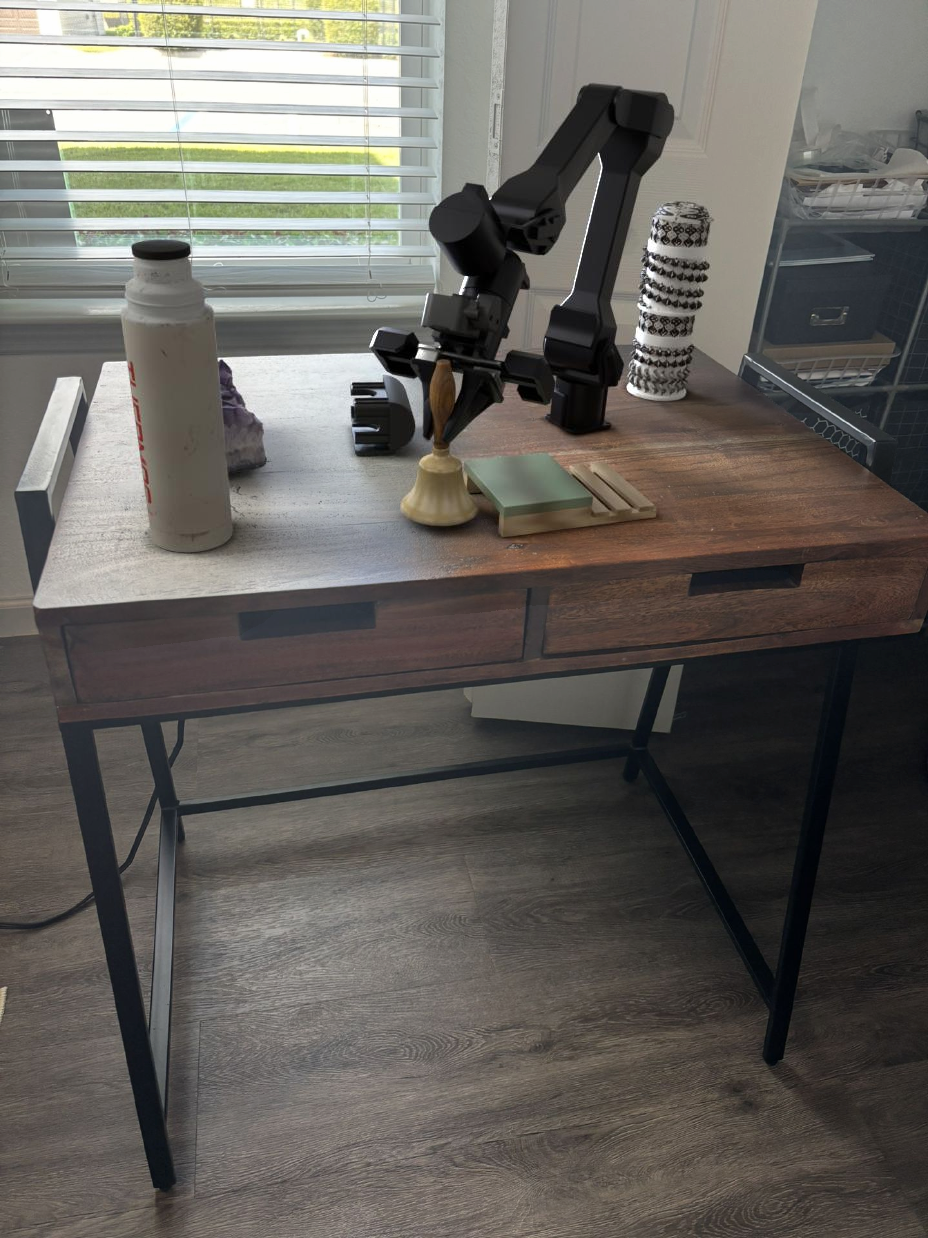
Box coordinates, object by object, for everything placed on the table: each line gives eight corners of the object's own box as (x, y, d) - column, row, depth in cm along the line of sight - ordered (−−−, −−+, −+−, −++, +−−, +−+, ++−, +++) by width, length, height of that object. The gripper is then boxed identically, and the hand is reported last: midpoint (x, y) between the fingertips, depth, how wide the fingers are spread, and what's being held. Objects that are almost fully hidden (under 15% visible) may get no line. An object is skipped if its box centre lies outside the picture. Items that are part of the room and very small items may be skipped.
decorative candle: (610, 386, 144) (633, 200, 130) (655, 375, 149) (682, 195, 135) (656, 406, 138) (685, 213, 124) (701, 394, 143) (734, 208, 129)
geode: (148, 426, 124) (149, 345, 119) (243, 430, 128) (247, 352, 123) (161, 488, 107) (163, 397, 103) (269, 490, 112) (275, 403, 107)
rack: (606, 472, 118) (609, 445, 116) (656, 517, 108) (660, 487, 107) (462, 489, 112) (464, 460, 110) (502, 537, 103) (504, 506, 101)
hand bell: (488, 499, 108) (495, 353, 99) (463, 532, 101) (468, 379, 93) (417, 486, 110) (417, 343, 101) (387, 518, 103) (385, 367, 95)
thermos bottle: (144, 553, 97) (101, 252, 82) (158, 515, 103) (121, 231, 89) (228, 552, 98) (200, 254, 83) (237, 516, 104) (213, 234, 89)
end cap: (415, 456, 119) (416, 402, 116) (355, 457, 118) (354, 403, 115) (406, 425, 128) (407, 373, 124) (350, 426, 127) (350, 374, 123)
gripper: (377, 244, 98) (322, 386, 96) (555, 270, 92) (501, 423, 89) (413, 305, 109) (364, 435, 106) (575, 333, 102) (528, 472, 100)
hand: (435, 440), depth 100 cm, fingers closed on hand bell
